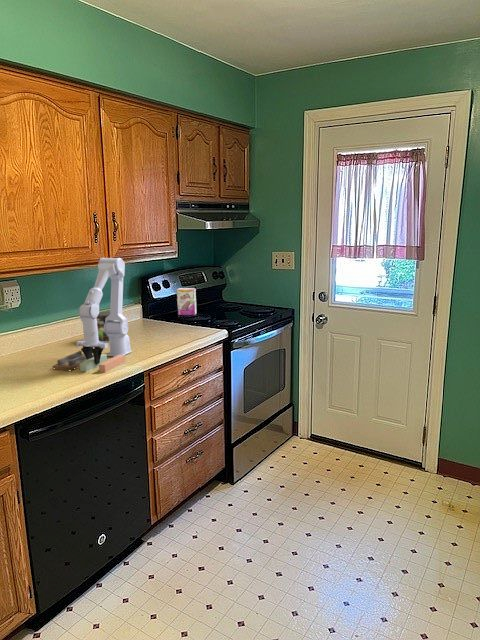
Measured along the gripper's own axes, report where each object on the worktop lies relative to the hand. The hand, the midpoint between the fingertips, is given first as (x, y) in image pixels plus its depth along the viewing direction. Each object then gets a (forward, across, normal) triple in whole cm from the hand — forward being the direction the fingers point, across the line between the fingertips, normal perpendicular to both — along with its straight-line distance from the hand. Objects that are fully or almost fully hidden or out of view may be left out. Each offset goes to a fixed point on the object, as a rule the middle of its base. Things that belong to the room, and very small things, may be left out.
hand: (93, 363), depth 205 cm
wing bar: (+2, +8, +2) cm, 8 cm away
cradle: (+1, -10, +1) cm, 11 cm away
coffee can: (+2, -20, +38) cm, 43 cm away
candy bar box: (+2, -10, +103) cm, 103 cm away
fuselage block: (+1, 0, 0) cm, 1 cm away
